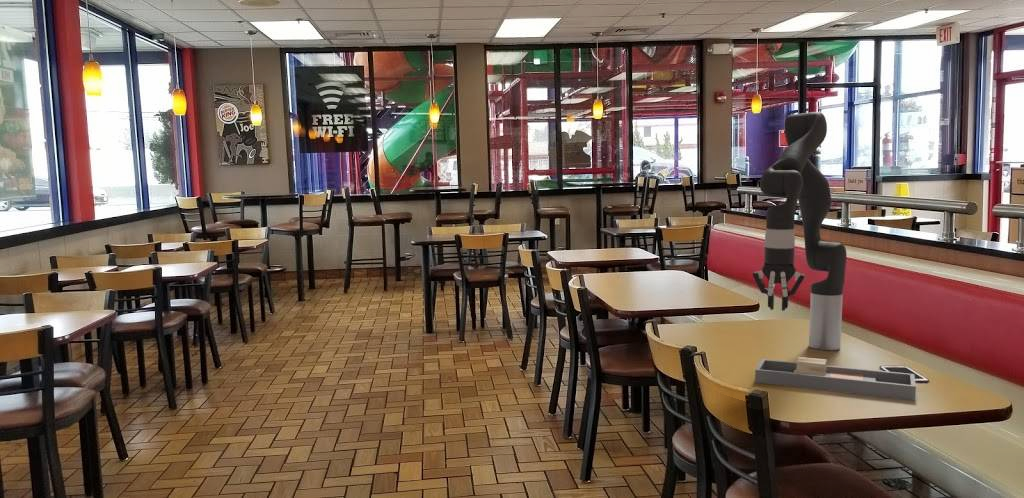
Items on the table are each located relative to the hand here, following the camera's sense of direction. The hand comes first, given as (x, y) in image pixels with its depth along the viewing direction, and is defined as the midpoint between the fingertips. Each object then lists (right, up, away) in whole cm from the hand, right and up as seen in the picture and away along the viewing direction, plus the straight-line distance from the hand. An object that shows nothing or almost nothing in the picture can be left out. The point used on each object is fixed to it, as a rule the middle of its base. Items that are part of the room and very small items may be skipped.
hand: (777, 309), depth 209 cm
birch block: (+8, -17, -2) cm, 19 cm away
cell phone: (+36, -19, +5) cm, 41 cm away
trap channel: (+13, -20, -4) cm, 24 cm away
